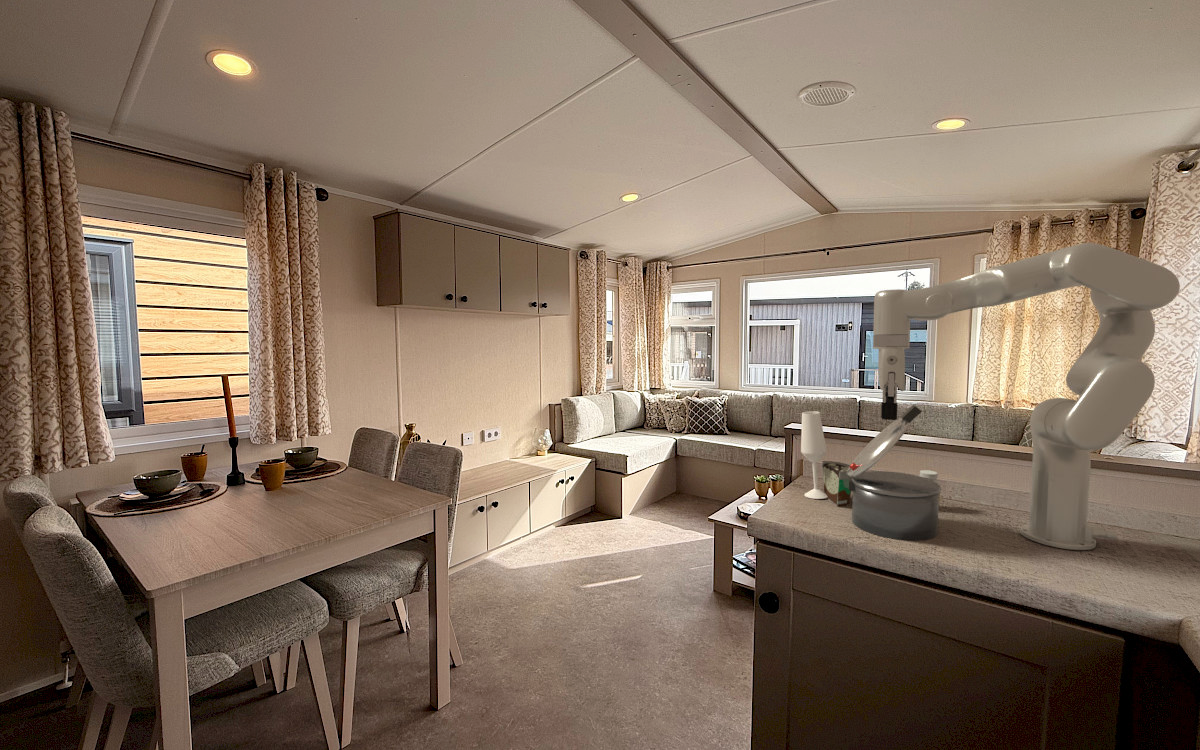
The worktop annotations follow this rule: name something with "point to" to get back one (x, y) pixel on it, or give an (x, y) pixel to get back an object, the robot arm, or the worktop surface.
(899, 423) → the cooker lid
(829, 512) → the worktop surface
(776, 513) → the worktop surface
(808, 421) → the champagne flute
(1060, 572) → the worktop surface
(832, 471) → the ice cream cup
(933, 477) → the supplement bottle
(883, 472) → the cooker pot
